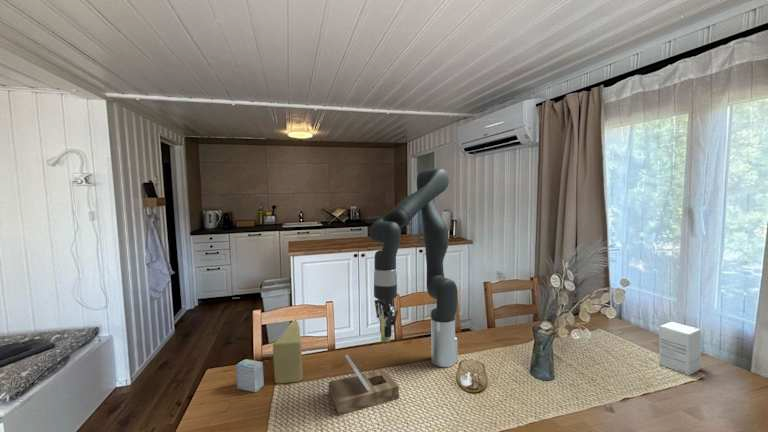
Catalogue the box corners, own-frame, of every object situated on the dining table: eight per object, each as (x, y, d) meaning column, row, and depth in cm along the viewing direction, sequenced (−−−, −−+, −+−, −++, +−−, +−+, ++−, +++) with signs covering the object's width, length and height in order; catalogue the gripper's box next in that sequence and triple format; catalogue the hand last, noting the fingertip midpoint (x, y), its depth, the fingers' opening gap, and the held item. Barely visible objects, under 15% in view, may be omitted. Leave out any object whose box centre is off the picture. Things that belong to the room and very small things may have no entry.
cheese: (285, 355, 133) (283, 319, 133) (308, 353, 135) (307, 318, 134) (273, 384, 111) (272, 342, 111) (302, 382, 113) (300, 340, 112)
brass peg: (387, 337, 106) (387, 311, 106) (391, 341, 103) (391, 314, 103) (379, 339, 105) (379, 312, 105) (383, 343, 102) (383, 315, 102)
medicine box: (264, 386, 111) (263, 361, 110) (255, 393, 107) (254, 368, 106) (246, 382, 113) (245, 358, 113) (236, 389, 109) (235, 364, 109)
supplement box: (670, 358, 123) (671, 320, 123) (701, 369, 115) (701, 328, 114) (657, 364, 119) (658, 325, 119) (688, 376, 111) (689, 333, 111)
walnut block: (384, 379, 113) (384, 368, 113) (398, 398, 102) (398, 386, 102) (328, 393, 105) (328, 381, 105) (338, 415, 94) (337, 402, 94)
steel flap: (358, 375, 108) (360, 373, 108) (368, 391, 99) (370, 389, 99) (344, 355, 106) (347, 353, 106) (353, 370, 97) (356, 367, 97)
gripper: (405, 286, 99) (405, 341, 99) (387, 277, 112) (387, 325, 112) (383, 288, 96) (383, 345, 96) (367, 279, 109) (367, 329, 109)
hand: (385, 334), depth 104 cm, fingers closed on brass peg, 3 cm apart
